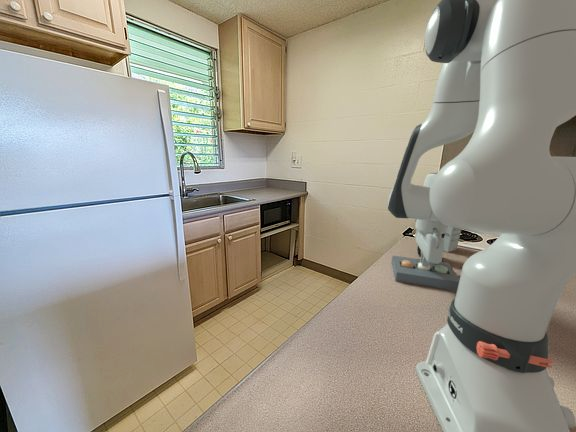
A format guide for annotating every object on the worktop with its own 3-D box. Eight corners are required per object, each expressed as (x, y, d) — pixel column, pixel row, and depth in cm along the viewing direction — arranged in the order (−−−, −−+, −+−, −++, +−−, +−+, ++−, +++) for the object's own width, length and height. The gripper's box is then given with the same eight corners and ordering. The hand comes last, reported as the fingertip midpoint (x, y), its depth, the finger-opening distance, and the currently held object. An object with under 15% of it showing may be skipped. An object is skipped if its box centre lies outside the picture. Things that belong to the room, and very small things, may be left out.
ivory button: (430, 274, 79) (431, 268, 78) (418, 272, 80) (419, 266, 79) (427, 269, 82) (429, 263, 81) (416, 267, 83) (417, 261, 82)
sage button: (448, 277, 77) (449, 270, 77) (435, 275, 78) (436, 268, 78) (444, 271, 80) (446, 265, 80) (432, 270, 81) (433, 264, 81)
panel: (460, 291, 72) (462, 282, 71) (395, 280, 77) (396, 272, 77) (446, 271, 85) (448, 263, 84) (391, 262, 90) (392, 255, 89)
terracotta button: (413, 271, 80) (414, 265, 79) (401, 269, 81) (402, 263, 80) (411, 266, 83) (412, 261, 83) (400, 265, 84) (401, 259, 84)
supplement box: (430, 246, 108) (435, 219, 105) (440, 244, 111) (445, 217, 108) (447, 252, 102) (453, 223, 99) (457, 249, 105) (463, 221, 102)
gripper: (453, 236, 66) (444, 281, 70) (434, 217, 85) (427, 254, 89) (427, 233, 68) (419, 277, 72) (414, 216, 87) (408, 251, 90)
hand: (424, 264), depth 80 cm, fingers closed, pressing on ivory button
